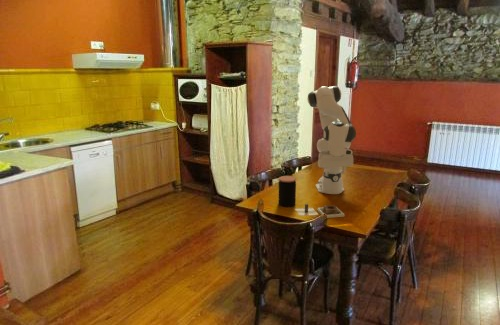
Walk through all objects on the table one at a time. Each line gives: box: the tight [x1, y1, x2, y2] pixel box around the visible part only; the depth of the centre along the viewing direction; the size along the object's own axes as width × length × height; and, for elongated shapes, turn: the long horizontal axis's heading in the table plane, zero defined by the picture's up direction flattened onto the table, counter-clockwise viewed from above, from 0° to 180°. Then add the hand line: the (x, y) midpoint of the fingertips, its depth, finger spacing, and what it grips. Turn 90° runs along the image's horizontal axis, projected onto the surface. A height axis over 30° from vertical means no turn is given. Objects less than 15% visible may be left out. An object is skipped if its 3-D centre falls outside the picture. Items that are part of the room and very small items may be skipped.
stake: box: [294, 203, 320, 217], centre depth 208 cm, size 11×11×6 cm
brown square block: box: [323, 204, 339, 215], centre depth 206 cm, size 6×6×4 cm
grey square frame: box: [316, 206, 345, 219], centre depth 206 cm, size 12×12×2 cm
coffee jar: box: [278, 175, 297, 208], centre depth 219 cm, size 11×11×18 cm
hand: (334, 174), depth 201 cm, fingers open, 8 cm apart
